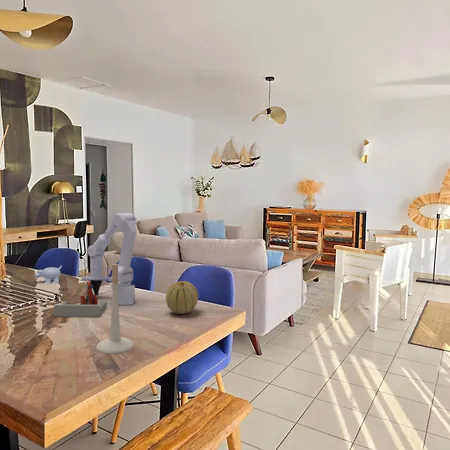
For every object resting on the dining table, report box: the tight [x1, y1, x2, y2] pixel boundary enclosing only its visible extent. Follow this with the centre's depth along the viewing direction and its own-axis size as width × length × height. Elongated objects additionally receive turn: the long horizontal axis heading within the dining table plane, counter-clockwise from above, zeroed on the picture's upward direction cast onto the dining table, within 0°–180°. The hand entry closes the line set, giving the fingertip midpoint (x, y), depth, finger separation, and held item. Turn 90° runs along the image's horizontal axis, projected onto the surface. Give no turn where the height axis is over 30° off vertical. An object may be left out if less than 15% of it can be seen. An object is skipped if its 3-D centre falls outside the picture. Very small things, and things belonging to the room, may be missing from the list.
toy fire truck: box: [80, 281, 98, 305], centre depth 195 cm, size 7×12×10 cm, turn 25°
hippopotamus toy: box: [34, 264, 63, 285], centre depth 241 cm, size 11×15×10 cm
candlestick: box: [96, 263, 135, 355], centre depth 144 cm, size 13×13×30 cm
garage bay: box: [53, 300, 108, 318], centre depth 184 cm, size 19×14×5 cm
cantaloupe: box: [165, 280, 199, 315], centre depth 185 cm, size 15×15×15 cm
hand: (96, 295), depth 209 cm, fingers closed
